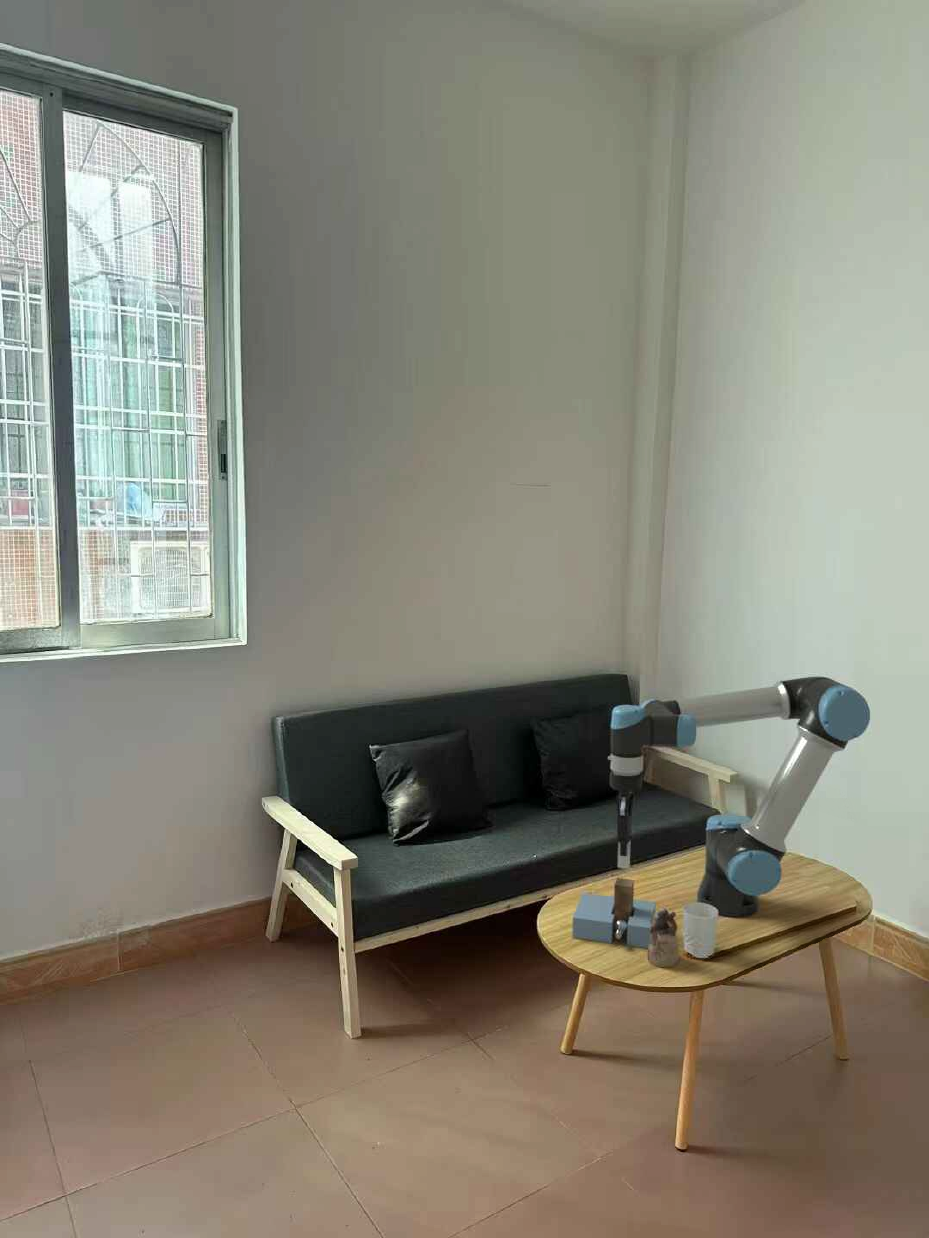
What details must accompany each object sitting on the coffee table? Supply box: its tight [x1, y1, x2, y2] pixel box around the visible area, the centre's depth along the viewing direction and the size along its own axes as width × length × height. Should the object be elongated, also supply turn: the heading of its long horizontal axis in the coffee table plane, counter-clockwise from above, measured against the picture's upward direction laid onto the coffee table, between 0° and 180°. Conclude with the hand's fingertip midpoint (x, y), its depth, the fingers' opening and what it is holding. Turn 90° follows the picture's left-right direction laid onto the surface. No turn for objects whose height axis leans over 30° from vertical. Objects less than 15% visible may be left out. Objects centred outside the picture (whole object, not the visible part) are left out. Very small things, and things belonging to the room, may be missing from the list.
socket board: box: [572, 892, 656, 949], centre depth 215 cm, size 18×14×5 cm
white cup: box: [682, 902, 719, 959], centre depth 204 cm, size 8×8×10 cm
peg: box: [613, 877, 635, 935], centre depth 214 cm, size 4×4×12 cm
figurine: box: [646, 908, 680, 968], centre depth 200 cm, size 7×7×12 cm
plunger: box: [614, 920, 627, 940], centre depth 209 cm, size 3×6×3 cm, turn 163°
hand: (623, 866), depth 212 cm, fingers closed
